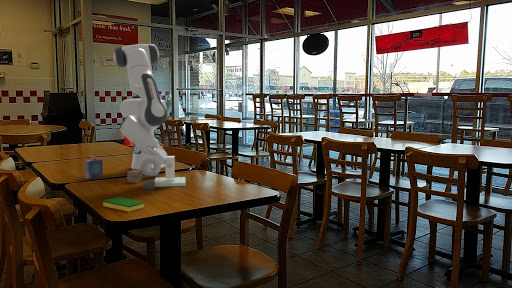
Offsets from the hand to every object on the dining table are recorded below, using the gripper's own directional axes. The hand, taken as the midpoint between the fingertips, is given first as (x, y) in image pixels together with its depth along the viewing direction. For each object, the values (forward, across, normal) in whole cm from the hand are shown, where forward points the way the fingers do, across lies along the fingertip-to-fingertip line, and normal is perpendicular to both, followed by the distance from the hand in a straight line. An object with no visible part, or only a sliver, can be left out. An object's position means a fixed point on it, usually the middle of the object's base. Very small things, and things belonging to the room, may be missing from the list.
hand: (171, 166), depth 191 cm
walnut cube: (-6, +6, +18) cm, 20 cm away
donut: (-2, +18, +13) cm, 22 cm away
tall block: (+3, 0, +4) cm, 5 cm away
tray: (+5, 0, +6) cm, 8 cm away
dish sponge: (-5, -41, +17) cm, 45 cm away
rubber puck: (-1, -11, +12) cm, 17 cm away
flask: (-21, +18, +32) cm, 42 cm away
